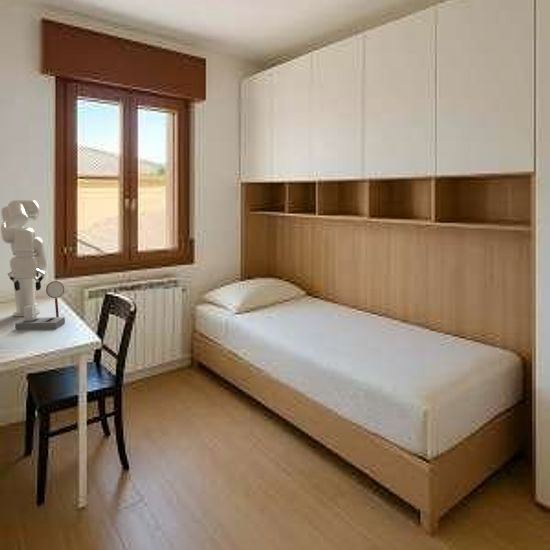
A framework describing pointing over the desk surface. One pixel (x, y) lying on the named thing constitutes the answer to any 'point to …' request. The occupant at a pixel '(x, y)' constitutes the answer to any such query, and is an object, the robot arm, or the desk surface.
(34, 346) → the desk surface
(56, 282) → the magnifying glass
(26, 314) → the square peg
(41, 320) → the bore block
